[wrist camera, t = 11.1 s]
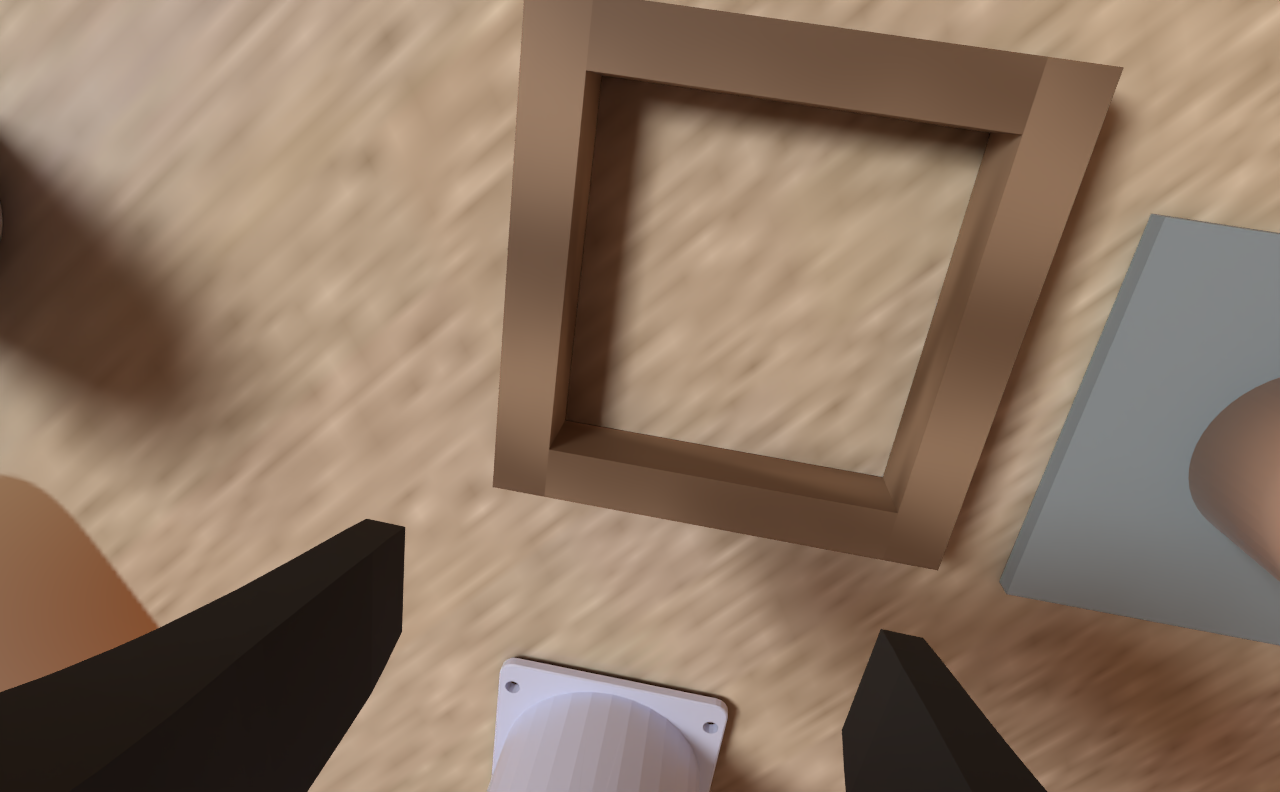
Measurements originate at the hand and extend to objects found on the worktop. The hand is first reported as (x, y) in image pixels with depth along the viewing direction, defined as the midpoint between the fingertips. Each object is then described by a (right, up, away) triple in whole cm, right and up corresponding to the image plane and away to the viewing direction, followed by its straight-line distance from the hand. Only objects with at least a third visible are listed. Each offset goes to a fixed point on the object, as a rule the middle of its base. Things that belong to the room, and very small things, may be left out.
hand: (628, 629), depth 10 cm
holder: (+3, +6, +8) cm, 11 cm away
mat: (+17, +2, +8) cm, 19 cm away
